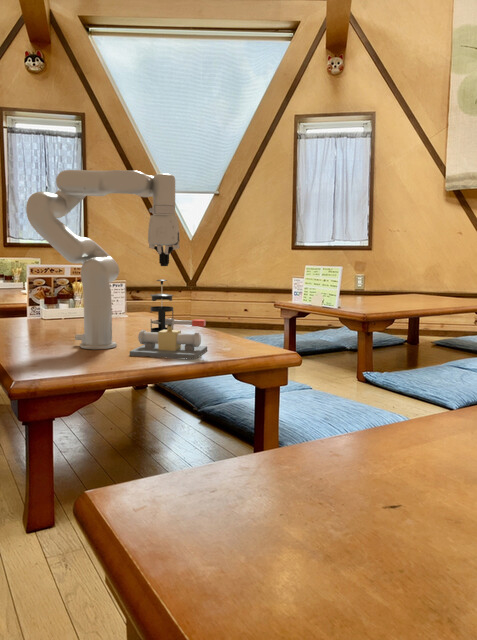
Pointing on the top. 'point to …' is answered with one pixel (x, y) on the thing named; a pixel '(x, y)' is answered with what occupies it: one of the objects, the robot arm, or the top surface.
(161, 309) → the french press
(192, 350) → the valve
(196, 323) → the lever
